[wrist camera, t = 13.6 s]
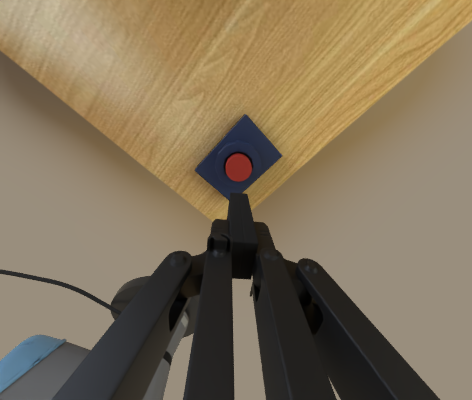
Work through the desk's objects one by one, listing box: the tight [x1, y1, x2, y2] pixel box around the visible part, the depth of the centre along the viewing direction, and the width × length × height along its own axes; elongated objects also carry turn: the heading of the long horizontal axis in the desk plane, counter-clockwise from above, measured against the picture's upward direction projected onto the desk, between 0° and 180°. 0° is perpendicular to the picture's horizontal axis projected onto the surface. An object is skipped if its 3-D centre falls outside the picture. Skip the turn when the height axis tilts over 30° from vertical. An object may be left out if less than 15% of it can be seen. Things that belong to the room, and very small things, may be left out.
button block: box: [195, 114, 282, 200], centre depth 27 cm, size 11×8×4 cm
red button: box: [226, 153, 252, 182], centre depth 25 cm, size 4×4×2 cm
